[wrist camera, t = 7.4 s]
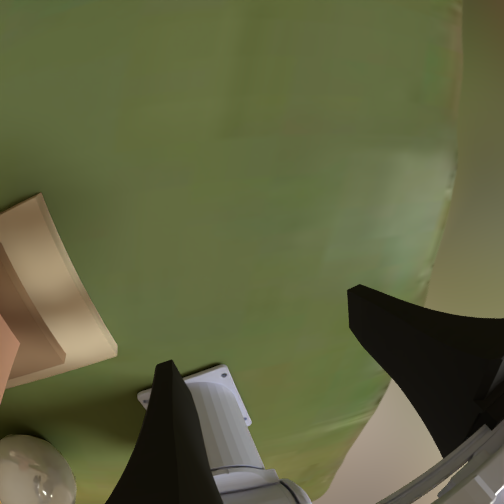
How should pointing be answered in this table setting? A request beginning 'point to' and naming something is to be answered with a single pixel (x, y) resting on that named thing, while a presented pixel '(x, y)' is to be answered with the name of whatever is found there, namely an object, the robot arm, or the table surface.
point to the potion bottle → (34, 472)
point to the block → (6, 353)
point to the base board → (45, 298)
